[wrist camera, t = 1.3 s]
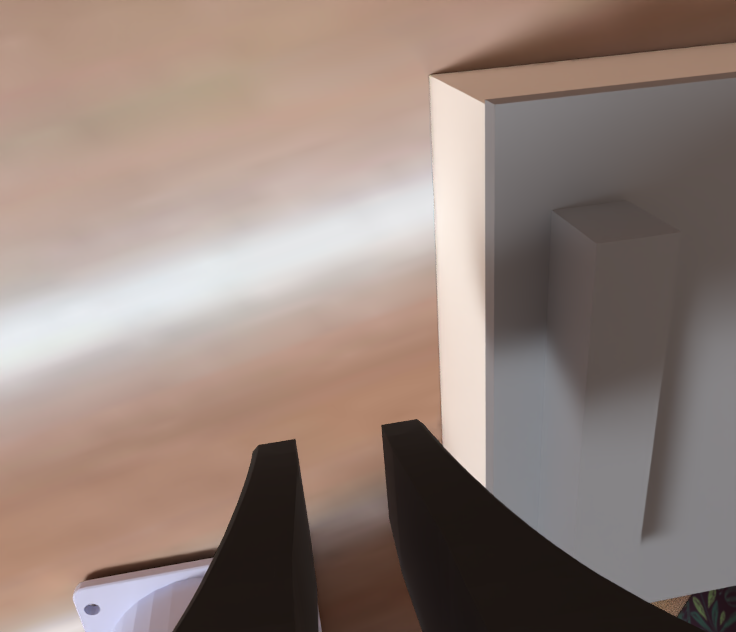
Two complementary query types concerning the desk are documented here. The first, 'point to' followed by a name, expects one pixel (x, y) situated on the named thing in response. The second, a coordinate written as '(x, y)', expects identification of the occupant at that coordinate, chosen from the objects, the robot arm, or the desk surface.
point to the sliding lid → (616, 326)
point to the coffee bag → (712, 610)
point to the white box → (467, 207)
